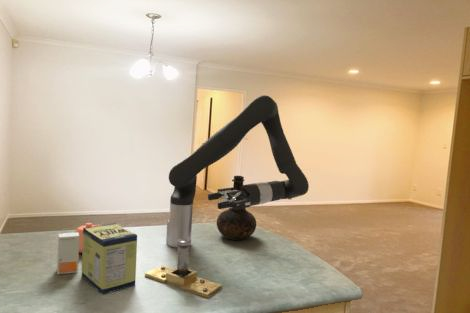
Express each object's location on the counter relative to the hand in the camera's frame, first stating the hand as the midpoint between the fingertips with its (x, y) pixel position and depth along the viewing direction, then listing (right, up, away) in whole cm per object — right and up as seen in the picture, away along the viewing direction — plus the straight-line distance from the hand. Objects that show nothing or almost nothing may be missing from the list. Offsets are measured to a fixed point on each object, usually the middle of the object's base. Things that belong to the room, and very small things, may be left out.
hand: (213, 201), depth 115 cm
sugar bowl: (-47, -20, +17) cm, 54 cm away
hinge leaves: (-10, -24, -5) cm, 27 cm away
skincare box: (-46, -22, -3) cm, 51 cm away
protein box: (-32, -23, -8) cm, 40 cm away
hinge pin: (-9, -24, -5) cm, 27 cm away
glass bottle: (+7, -22, +44) cm, 49 cm away
